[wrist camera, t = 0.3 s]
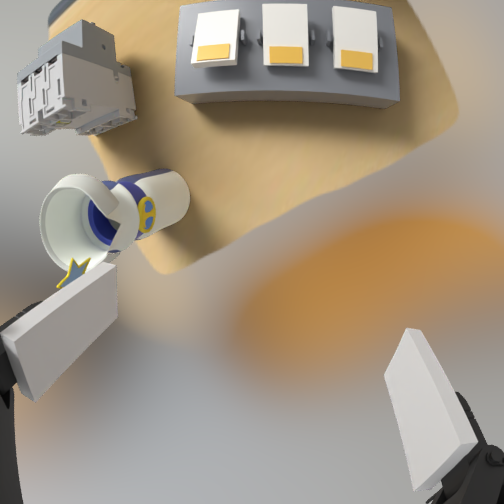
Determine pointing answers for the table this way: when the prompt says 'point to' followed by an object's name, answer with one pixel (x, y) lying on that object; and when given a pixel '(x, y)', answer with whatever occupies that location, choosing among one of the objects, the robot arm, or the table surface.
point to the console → (287, 77)
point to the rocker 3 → (355, 39)
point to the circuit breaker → (76, 85)
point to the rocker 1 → (216, 39)
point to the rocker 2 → (285, 35)
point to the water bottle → (107, 216)
